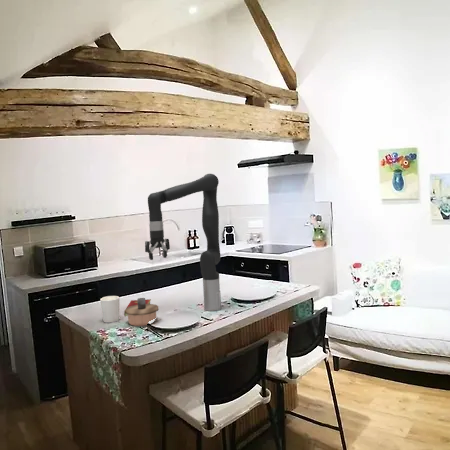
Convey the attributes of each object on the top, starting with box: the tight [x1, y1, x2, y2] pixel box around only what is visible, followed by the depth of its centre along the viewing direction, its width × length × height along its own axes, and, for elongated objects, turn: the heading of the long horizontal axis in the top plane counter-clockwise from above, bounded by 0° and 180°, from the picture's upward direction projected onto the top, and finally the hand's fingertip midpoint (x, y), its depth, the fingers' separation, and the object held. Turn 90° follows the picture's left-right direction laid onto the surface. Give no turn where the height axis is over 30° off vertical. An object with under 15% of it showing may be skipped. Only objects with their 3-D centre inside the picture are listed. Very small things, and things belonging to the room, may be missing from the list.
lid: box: [124, 297, 160, 315], centre depth 230 cm, size 17×17×6 cm
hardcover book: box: [123, 298, 152, 317], centre depth 253 cm, size 12×21×4 cm, turn 3°
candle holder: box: [99, 295, 120, 324], centre depth 235 cm, size 10×10×12 cm
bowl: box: [127, 312, 157, 327], centre depth 230 cm, size 14×14×6 cm
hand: (158, 258), depth 244 cm, fingers open, 8 cm apart
